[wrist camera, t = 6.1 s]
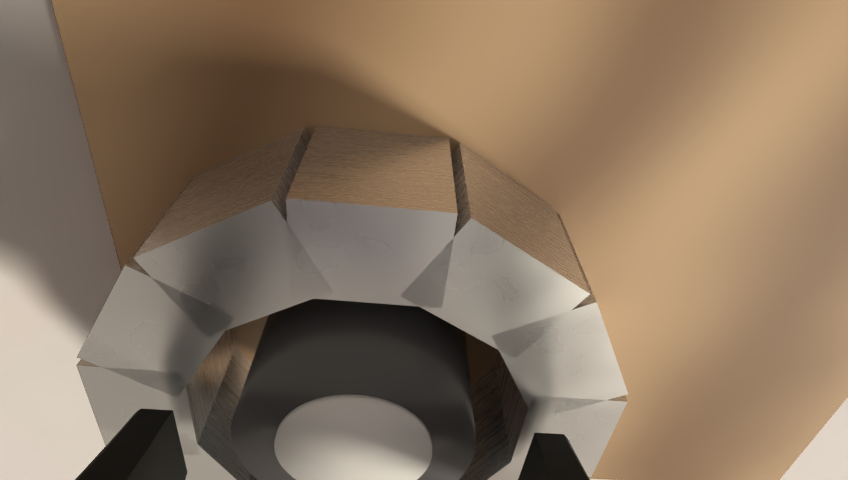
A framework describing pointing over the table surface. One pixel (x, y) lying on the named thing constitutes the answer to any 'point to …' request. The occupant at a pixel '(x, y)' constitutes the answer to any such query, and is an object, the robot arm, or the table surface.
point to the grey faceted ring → (357, 290)
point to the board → (549, 170)
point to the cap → (356, 396)
